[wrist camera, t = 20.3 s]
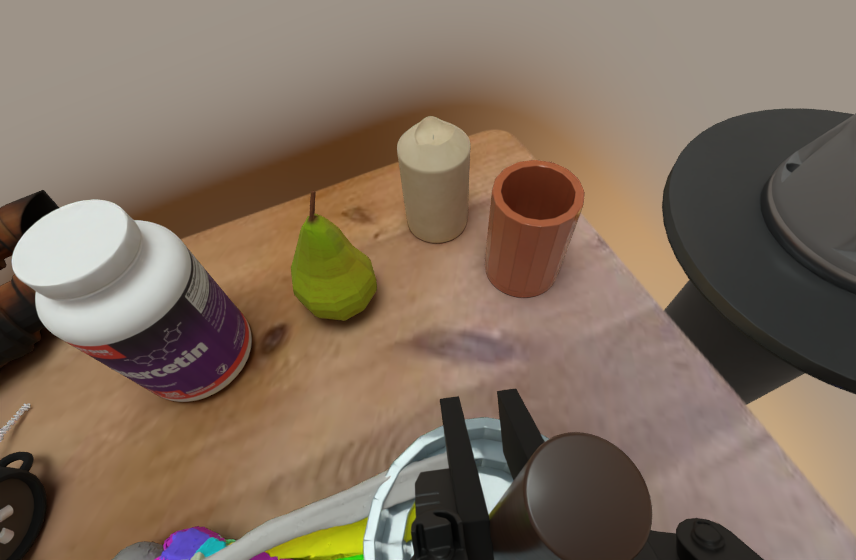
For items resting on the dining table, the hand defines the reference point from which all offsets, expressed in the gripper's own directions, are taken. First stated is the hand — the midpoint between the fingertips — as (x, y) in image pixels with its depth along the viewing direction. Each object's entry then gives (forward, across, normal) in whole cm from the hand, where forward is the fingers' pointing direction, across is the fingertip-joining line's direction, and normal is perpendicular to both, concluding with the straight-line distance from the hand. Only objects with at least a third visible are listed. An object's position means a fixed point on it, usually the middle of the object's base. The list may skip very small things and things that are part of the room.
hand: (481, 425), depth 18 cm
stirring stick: (+4, 0, -10) cm, 11 cm away
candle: (+25, +1, +6) cm, 26 cm away
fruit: (+20, -8, +1) cm, 21 cm away
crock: (+20, +7, +2) cm, 22 cm away
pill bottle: (+17, -19, -1) cm, 26 cm away
